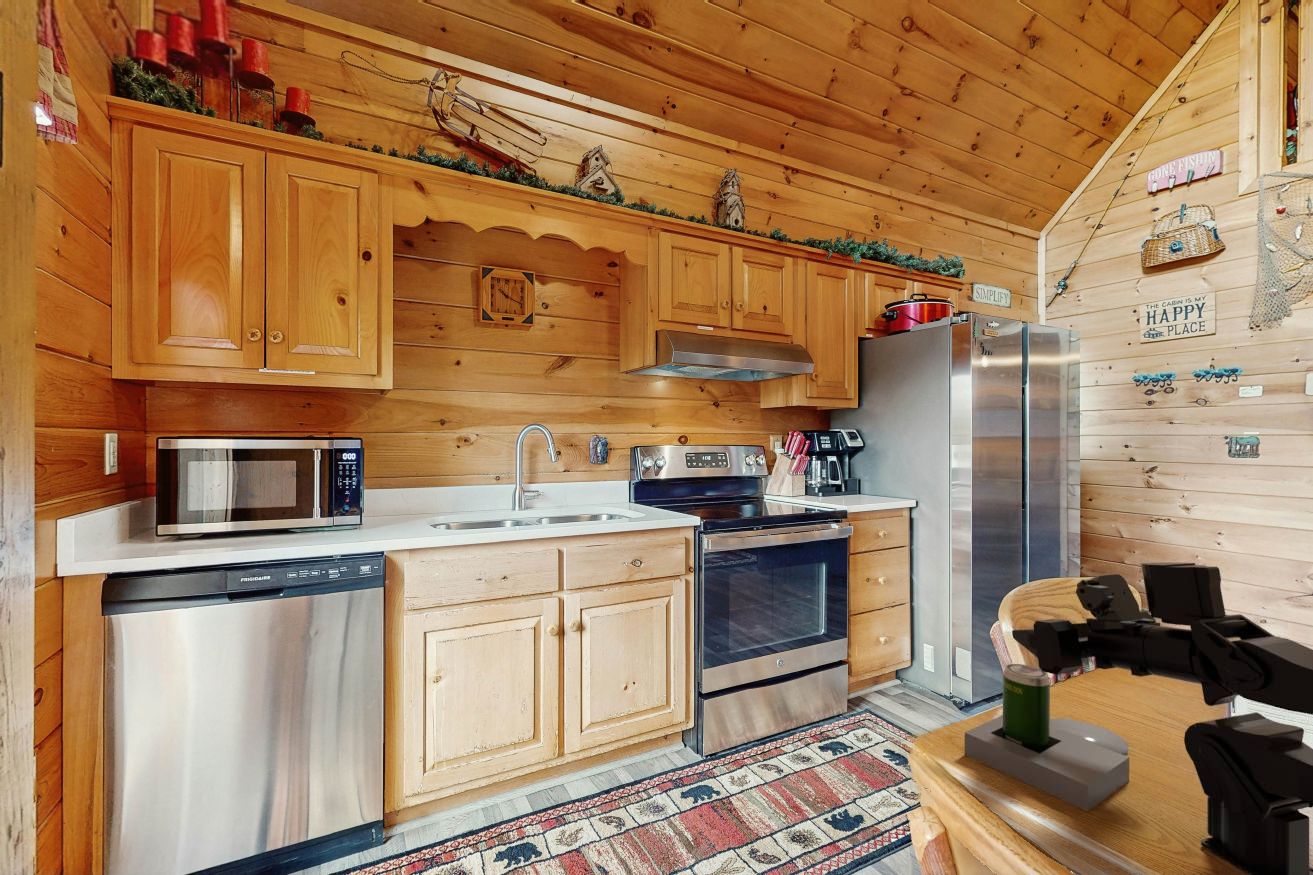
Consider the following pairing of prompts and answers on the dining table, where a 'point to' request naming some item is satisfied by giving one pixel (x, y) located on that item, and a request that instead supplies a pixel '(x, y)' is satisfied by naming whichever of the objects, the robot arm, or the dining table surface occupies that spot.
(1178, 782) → the dining table surface
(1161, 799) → the dining table surface
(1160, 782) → the dining table surface
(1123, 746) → the coaster
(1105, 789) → the can dock
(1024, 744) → the beer can
